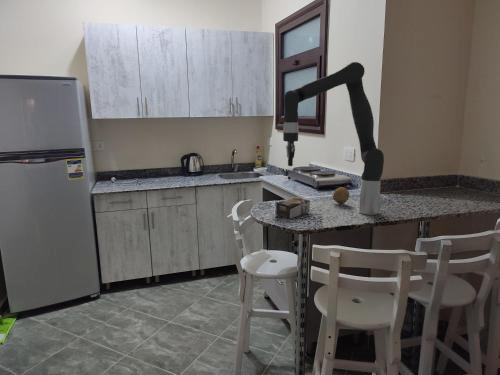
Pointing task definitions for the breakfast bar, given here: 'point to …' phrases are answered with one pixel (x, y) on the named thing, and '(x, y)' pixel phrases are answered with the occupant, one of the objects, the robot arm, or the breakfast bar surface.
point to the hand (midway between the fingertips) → (290, 165)
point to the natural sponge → (341, 195)
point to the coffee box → (292, 207)
